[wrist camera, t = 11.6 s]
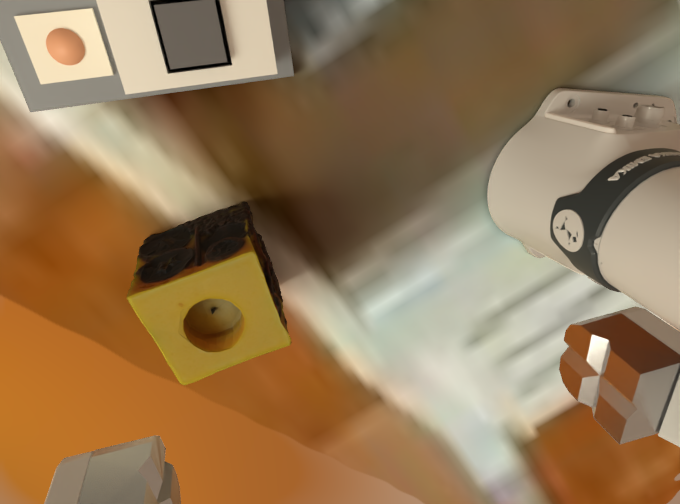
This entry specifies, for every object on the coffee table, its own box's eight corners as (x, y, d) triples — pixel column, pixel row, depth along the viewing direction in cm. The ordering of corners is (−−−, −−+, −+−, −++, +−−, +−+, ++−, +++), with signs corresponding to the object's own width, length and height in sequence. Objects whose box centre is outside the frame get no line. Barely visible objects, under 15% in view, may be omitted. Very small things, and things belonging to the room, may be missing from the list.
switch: (213, 1, 33) (214, -2, 28) (224, 55, 34) (227, 61, 29) (162, 7, 32) (153, 5, 27) (176, 61, 34) (170, 69, 29)
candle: (246, 199, 42) (256, 245, 33) (281, 284, 47) (297, 344, 38) (139, 236, 41) (121, 294, 32) (187, 320, 46) (182, 389, 37)
